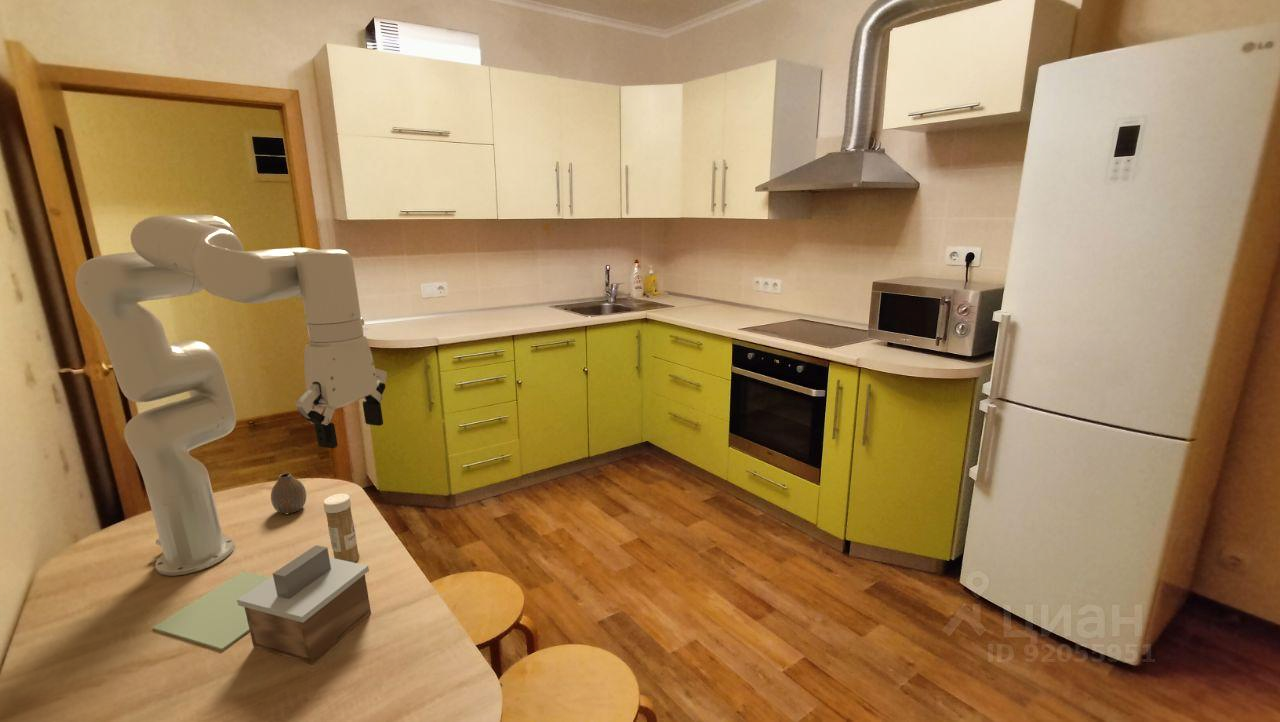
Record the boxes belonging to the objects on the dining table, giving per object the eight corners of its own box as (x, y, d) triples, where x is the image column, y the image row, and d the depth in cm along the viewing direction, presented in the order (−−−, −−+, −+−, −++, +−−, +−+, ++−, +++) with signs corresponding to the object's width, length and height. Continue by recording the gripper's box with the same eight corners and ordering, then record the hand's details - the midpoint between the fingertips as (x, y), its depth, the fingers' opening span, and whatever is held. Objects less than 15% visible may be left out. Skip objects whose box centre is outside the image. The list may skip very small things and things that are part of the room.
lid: (240, 613, 90) (231, 577, 88) (310, 565, 101) (304, 532, 100) (304, 631, 85) (297, 593, 84) (370, 578, 97) (364, 544, 96)
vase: (266, 516, 131) (259, 481, 128) (289, 501, 137) (282, 467, 135) (293, 518, 130) (286, 483, 127) (315, 503, 136) (309, 469, 134)
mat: (152, 629, 96) (152, 627, 96) (243, 572, 111) (243, 570, 110) (222, 650, 91) (222, 648, 91) (308, 588, 106) (308, 586, 105)
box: (253, 647, 92) (243, 603, 89) (316, 599, 102) (308, 559, 100) (312, 664, 88) (303, 619, 86) (371, 613, 99) (364, 572, 97)
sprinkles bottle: (361, 562, 113) (351, 499, 110) (335, 570, 111) (324, 506, 107) (357, 551, 117) (347, 490, 113) (332, 558, 114) (321, 497, 111)
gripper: (359, 319, 98) (373, 415, 103) (266, 342, 82) (288, 454, 87) (395, 321, 96) (408, 419, 100) (307, 345, 80) (327, 459, 85)
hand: (352, 435), depth 94 cm, fingers open, 9 cm apart
